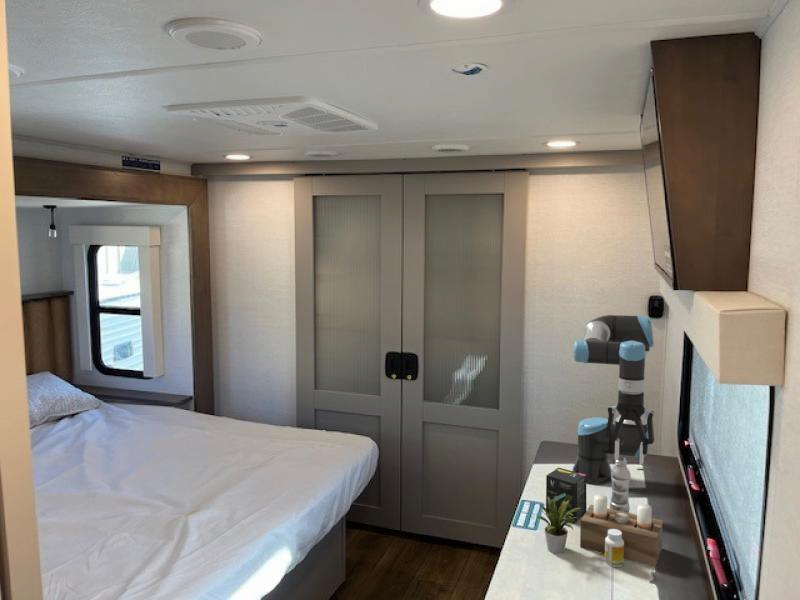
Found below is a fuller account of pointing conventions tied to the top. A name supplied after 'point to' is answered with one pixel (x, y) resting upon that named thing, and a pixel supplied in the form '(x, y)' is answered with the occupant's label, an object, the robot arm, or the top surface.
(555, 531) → the house plant
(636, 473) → the top surface
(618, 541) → the supplement bottle
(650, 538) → the wooden holder rack
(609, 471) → the robot arm
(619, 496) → the plastic bottle
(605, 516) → the knob
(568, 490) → the tampon box
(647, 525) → the knob
